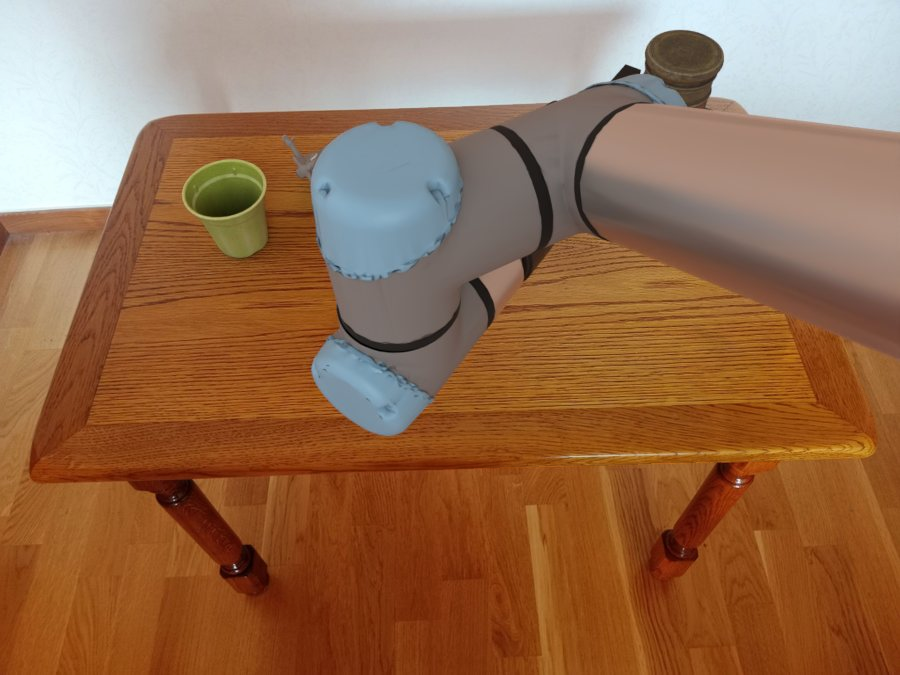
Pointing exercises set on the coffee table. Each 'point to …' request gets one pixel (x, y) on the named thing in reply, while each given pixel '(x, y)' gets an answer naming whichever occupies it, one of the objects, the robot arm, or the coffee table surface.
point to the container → (685, 64)
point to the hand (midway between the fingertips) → (630, 80)
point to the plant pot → (230, 205)
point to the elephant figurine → (303, 159)
